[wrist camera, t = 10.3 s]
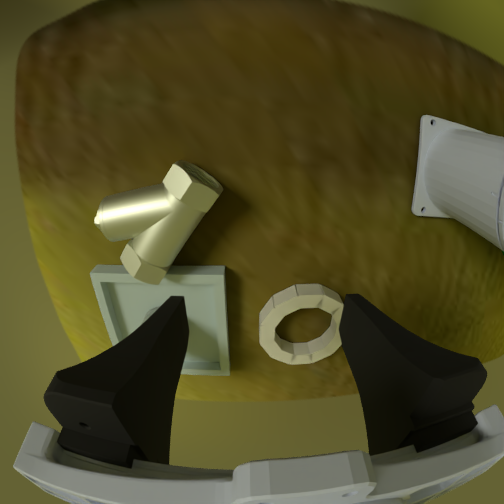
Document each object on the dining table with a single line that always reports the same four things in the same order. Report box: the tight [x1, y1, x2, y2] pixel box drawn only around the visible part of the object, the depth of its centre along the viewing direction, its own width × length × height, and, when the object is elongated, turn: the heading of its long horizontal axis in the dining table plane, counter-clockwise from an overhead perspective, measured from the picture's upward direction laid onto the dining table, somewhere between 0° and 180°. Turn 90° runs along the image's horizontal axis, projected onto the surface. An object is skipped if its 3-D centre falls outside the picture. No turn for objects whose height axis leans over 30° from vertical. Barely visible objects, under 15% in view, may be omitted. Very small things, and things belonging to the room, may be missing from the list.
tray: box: [90, 265, 230, 376], centre depth 24 cm, size 11×11×1 cm
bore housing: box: [259, 284, 344, 364], centre depth 24 cm, size 8×8×2 cm
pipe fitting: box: [95, 160, 224, 285], centre depth 19 cm, size 8×4×7 cm
